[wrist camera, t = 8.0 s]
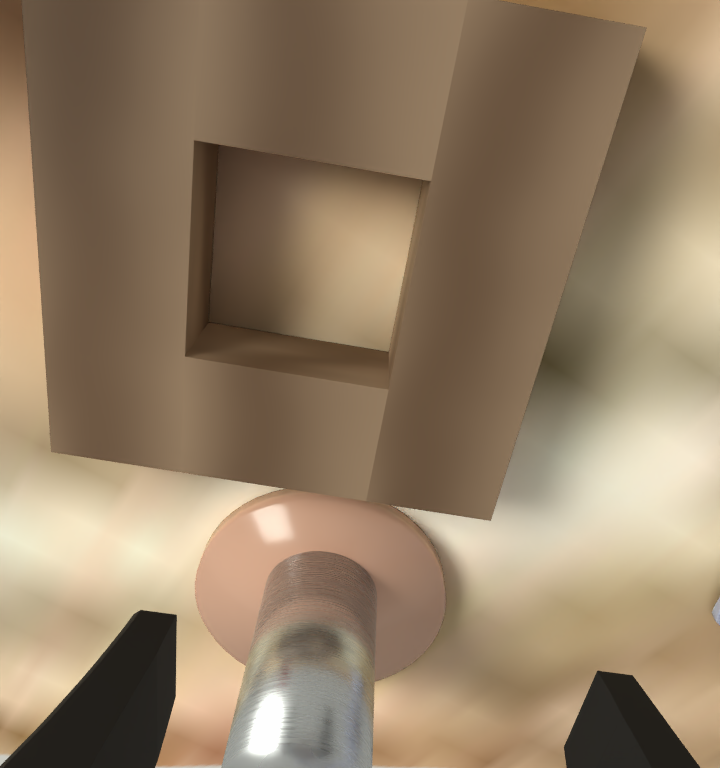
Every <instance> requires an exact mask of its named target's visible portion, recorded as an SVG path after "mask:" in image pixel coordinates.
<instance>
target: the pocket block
mask: <svg viewBox="0 0 720 768" xmlns="http://www.w3.org/2000/svg"><path fill="white" fill-rule="evenodd" d="M22 14H23V30H24V45H25V60H26V75H27V90H28V106H29V121H30V136H31V151H32V166H33V182H34V197H35V212H36V227H37V242H38V258H39V273H40V288H41V303H42V318H43V334H44V349H45V364H46V379H47V394H48V410H49V425H50V440H51V452H55V453H61V454H68V455H74V456H80V457H87V458H93V459H100V460H106V461H112V462H119V463H125V464H132V465H138V466H144V467H151V468H157V469H163V470H170V471H176V472H183V473H189V474H195V475H202V476H208V477H215V478H221V479H227V480H234V481H240V482H247V483H253V484H259V485H266V486H272V487H278V488H285V489H291V490H298V491H304V492H310V493H317V494H323V495H330V496H336V497H342V498H349V499H355V500H361V501H368V502H374V503H381V504H387V505H393V506H400V507H406V508H413V509H419V510H425V511H432V512H438V513H445V514H451V515H457V516H464V517H470V518H476V519H483V520H489V521H491V518H492V515H493V512H494V509H495V505H496V502H497V499H498V496H499V493H500V490H501V486H502V483H503V480H504V477H505V474H506V471H507V467H508V464H509V461H510V458H511V455H512V452H513V449H514V445H515V442H516V439H517V436H518V433H519V430H520V426H521V423H522V420H523V417H524V414H525V411H526V407H527V404H528V401H529V398H530V395H531V392H532V389H533V385H534V382H535V379H536V376H537V373H538V370H539V366H540V363H541V360H542V357H543V354H544V351H545V347H546V344H547V341H548V338H549V335H550V332H551V328H552V325H553V322H554V319H555V316H556V313H557V310H558V306H559V303H560V300H561V297H562V294H563V291H564V287H565V284H566V281H567V278H568V275H569V272H570V268H571V265H572V262H573V259H574V256H575V253H576V250H577V246H578V243H579V240H580V237H581V234H582V231H583V227H584V224H585V221H586V218H587V215H588V212H589V208H590V205H591V202H592V199H593V196H594V193H595V190H596V186H597V183H598V180H599V177H600V174H601V171H602V167H603V164H604V161H605V158H606V155H607V152H608V148H609V145H610V142H611V139H612V136H613V133H614V129H615V126H616V123H617V120H618V117H619V114H620V111H621V107H622V104H623V101H624V98H625V95H626V92H627V88H628V85H629V82H630V79H631V76H632V73H633V69H634V66H635V63H636V60H637V57H638V54H639V51H640V47H641V44H642V41H643V38H644V35H645V32H646V27H641V26H635V25H630V24H625V23H619V22H614V21H608V20H603V19H597V18H592V17H586V16H581V15H576V14H570V13H565V12H559V11H554V10H548V9H543V8H538V7H532V6H527V5H521V4H516V3H510V2H505V1H500V0H22ZM219 145H225V146H231V147H237V148H242V149H248V150H254V151H260V152H265V153H271V154H277V155H283V156H288V157H294V158H300V159H306V160H311V161H317V162H323V163H329V164H334V165H340V166H346V167H352V168H357V169H363V170H369V171H375V172H380V173H386V174H392V175H398V176H403V177H409V178H415V179H421V180H423V182H422V187H421V192H420V197H419V202H418V208H417V213H416V218H415V223H414V228H413V233H412V238H411V243H410V248H409V253H408V258H407V263H406V268H405V273H404V278H403V283H402V288H401V293H400V299H399V304H398V309H397V314H396V319H395V324H394V329H393V334H392V339H391V344H390V349H389V352H385V351H379V350H373V349H367V348H361V347H355V346H349V345H342V344H336V343H330V342H324V341H318V340H312V339H306V338H300V337H294V336H288V335H282V334H276V333H270V332H263V331H257V330H251V329H245V328H239V327H233V326H227V325H221V324H215V323H209V322H208V321H209V304H210V287H211V270H212V253H213V235H214V218H215V201H216V184H217V167H218V150H219Z"/></svg>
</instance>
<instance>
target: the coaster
mask: <svg viewBox="0 0 720 768" xmlns="http://www.w3.org/2000/svg"><path fill="white" fill-rule="evenodd" d="M311 551H323V552H331V553H335V554H339V555H342V556H345V557H347V558H349V559H351V560H353V561H355V562H356V563H358V564H359V565H360V566H362V567H363V568H364V569H365V570H366V571H367V572H368V574H369V575H370V576H371V578H372V579H373V581H374V584H375V586H376V590H377V619H376V652H375V681H379V680H381V679H384V678H386V677H389V676H391V675H393V674H395V673H397V672H399V671H401V670H403V669H404V668H406V667H407V666H409V665H410V664H411V663H413V662H414V661H415V660H417V659H418V658H419V657H420V656H421V655H422V654H423V653H424V652H425V651H426V650H427V649H428V647H429V646H430V645H431V644H432V642H433V641H434V639H435V637H436V636H437V634H438V632H439V630H440V627H441V625H442V622H443V619H444V614H445V608H446V594H445V584H444V576H443V569H442V566H441V563H440V560H439V556H438V554H437V552H436V551H435V549H434V547H433V545H432V543H431V542H430V540H429V539H428V538H427V536H426V535H425V533H424V532H423V531H422V530H421V529H420V528H419V527H418V526H417V525H416V524H415V523H414V522H413V521H412V520H410V519H409V518H408V517H407V516H405V515H404V514H403V513H402V512H400V511H398V510H397V509H395V508H393V507H392V506H390V505H387V504H381V503H374V502H368V501H361V500H355V499H349V498H342V497H336V496H330V495H323V494H317V493H310V492H304V491H298V490H291V489H283V490H279V491H275V492H271V493H268V494H266V495H263V496H260V497H257V498H255V499H253V500H251V501H249V502H247V503H245V504H244V505H242V506H241V507H239V508H238V509H236V510H235V511H233V512H232V513H231V514H230V515H229V516H228V517H226V518H225V519H224V520H223V521H222V522H221V523H220V525H219V526H218V527H217V528H216V530H215V531H214V532H213V534H212V536H211V537H210V539H209V541H208V543H207V545H206V548H205V550H204V553H203V556H202V558H201V561H200V564H199V567H198V570H197V574H196V581H195V596H196V601H197V606H198V610H199V612H200V615H201V618H202V620H203V622H204V624H205V626H206V627H207V629H208V631H209V632H210V634H211V635H212V636H213V637H214V639H215V640H216V641H217V642H218V643H219V645H220V646H221V647H222V648H223V649H224V650H225V651H226V652H228V653H229V654H230V655H231V656H233V657H234V658H235V659H236V660H238V661H239V662H241V663H242V664H244V665H246V664H247V660H248V656H249V651H250V647H251V643H252V639H253V635H254V631H255V627H256V622H257V618H258V614H259V610H260V606H261V602H262V597H263V593H264V589H265V585H266V581H267V579H268V576H269V574H270V573H271V571H272V570H273V569H274V568H275V566H277V565H278V564H279V563H280V562H282V561H283V560H285V559H286V558H288V557H290V556H293V555H296V554H299V553H304V552H311Z"/></svg>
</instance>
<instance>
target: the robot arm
mask: <svg viewBox="0 0 720 768" xmlns="http://www.w3.org/2000/svg"><path fill="white" fill-rule="evenodd" d="M712 614H713V617H714V619H715V621H716V622H717V623H718V624H719V625H720V597H719V599H718V601H717V603H716V604H715V606H714V608H713V611H712ZM176 624H177V615H174V614H166V613H158V612H151V611H143V610H140V611H138V612H137V613H135V614H134V615H133V616H132V617H131V619H130V620H129V621H128V623H127V624H126V625H125V627H124V628H123V629H122V631H121V632H120V633H119V634H118V636H117V637H116V638H115V640H114V641H113V642H112V643H111V645H110V646H109V647H108V648H107V650H106V651H105V652H104V653H103V654H102V656H101V657H100V658H99V659H98V660H97V662H96V663H95V664H94V665H93V666H92V667H91V669H90V670H89V671H88V672H87V673H86V675H85V676H84V677H83V678H82V679H81V680H80V682H79V683H78V684H77V685H76V686H75V687H74V688H73V689H72V691H71V692H70V693H69V694H68V695H67V696H66V697H65V698H64V699H63V701H62V702H61V703H60V704H59V705H58V706H57V707H56V708H55V709H54V711H53V712H52V713H51V714H50V715H49V716H48V717H47V718H46V719H45V720H44V722H43V723H42V724H41V725H40V726H39V727H38V728H37V729H36V730H35V731H34V732H33V733H32V734H31V735H30V736H29V737H28V738H27V739H26V740H25V741H24V742H23V743H22V744H21V745H20V746H19V747H18V748H17V749H16V750H15V751H14V752H13V754H12V755H11V756H10V757H9V758H8V759H7V760H6V761H5V762H4V763H3V764H2V765H1V766H0V768H155V766H156V763H157V761H158V757H159V754H160V750H161V747H162V743H163V740H164V736H165V733H166V729H167V726H168V722H169V719H170V715H171V711H172V708H173V704H174V700H175V697H176ZM564 751H565V758H566V766H567V768H700V767H699V765H698V764H697V763H696V761H695V760H694V759H693V757H692V756H691V754H690V753H689V752H688V750H687V749H686V748H685V746H684V745H683V744H682V742H681V741H680V740H679V738H678V737H677V735H676V734H675V733H674V731H673V730H672V729H671V727H670V726H669V724H668V723H667V722H666V720H665V719H664V718H663V716H662V715H661V714H660V712H659V711H658V709H657V708H656V707H655V705H654V704H653V703H652V701H651V700H650V698H649V697H648V696H647V694H646V693H645V692H644V690H643V689H642V687H641V686H640V685H639V683H638V682H637V681H636V679H635V678H634V677H633V675H625V674H618V673H610V672H602V671H597V673H596V675H595V678H594V680H593V682H592V684H591V687H590V689H589V691H588V694H587V696H586V698H585V700H584V703H583V705H582V707H581V710H580V712H579V714H578V716H577V719H576V721H575V723H574V725H573V728H572V730H571V732H570V735H569V737H568V739H567V741H566V744H565V746H564Z"/></svg>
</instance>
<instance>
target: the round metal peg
mask: <svg viewBox="0 0 720 768" xmlns="http://www.w3.org/2000/svg"><path fill="white" fill-rule="evenodd" d="M376 619H377V590H376V586H375V584H374V581H373V579H372V578H371V576H370V575H369V574H368V572H367V571H366V570H365V569H364V568H363V567H362V566H360V565H359V564H358V563H356V562H355V561H353V560H351V559H349V558H347V557H345V556H342V555H339V554H335V553H331V552H323V551H311V552H304V553H299V554H296V555H293V556H290V557H288V558H286V559H285V560H283V561H282V562H280V563H279V564H278V565H277V566H275V568H274V569H273V570H272V571H271V573H270V574H269V576H268V579H267V581H266V585H265V589H264V593H263V597H262V602H261V606H260V610H259V614H258V618H257V622H256V627H255V631H254V635H253V639H252V643H251V647H250V651H249V656H248V660H247V664H246V668H245V672H244V676H243V680H242V685H241V689H240V693H239V697H238V701H237V705H236V710H235V714H234V718H233V722H232V726H231V730H230V734H229V739H228V743H227V747H226V751H225V755H224V759H223V764H222V768H372V752H373V718H374V685H375V652H376Z"/></svg>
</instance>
